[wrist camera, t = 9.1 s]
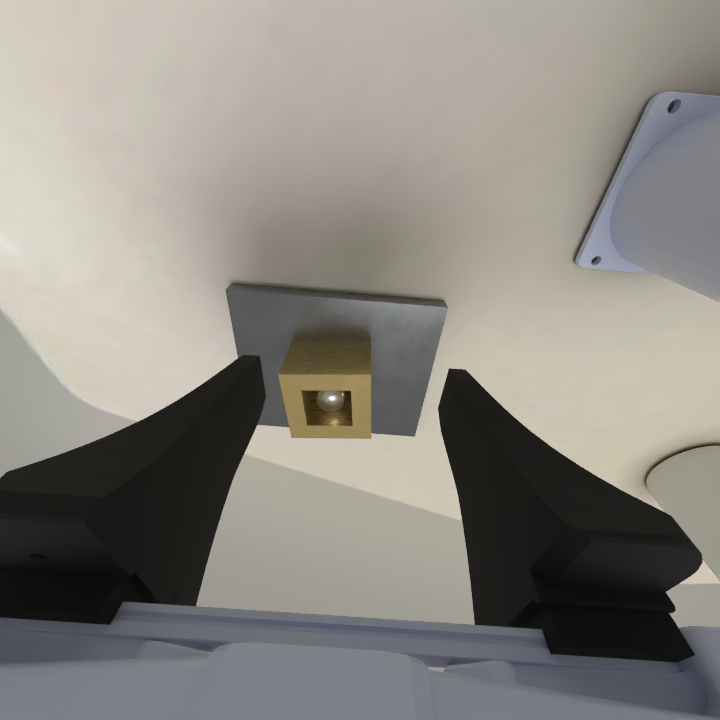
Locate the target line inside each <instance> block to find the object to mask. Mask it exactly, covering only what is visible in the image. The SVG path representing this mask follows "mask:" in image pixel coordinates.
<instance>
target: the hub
mask: <svg viewBox="0 0 720 720" xmlns="http://www.w3.org/2000/svg"><path fill="white" fill-rule="evenodd" d="M278 376H279V381H280V386H281V390H282V395H283V400H284V404H285V409H286V414H287V418H288V423H289V428H290V432H291V437H292V438H360V439H371V339H293V340H292V342H291V344H290V347H289V349H288V352H287V354H286V357H285V359H284V361H283V364H282V366H281V369H280V371H279V373H278ZM318 391H345V397H344V405H343V407H342V408H341V409H340V410H337V411H334V412H329V411H325V410H323V409H321V408H320V407H319V406H318V404H317V396H318Z"/></svg>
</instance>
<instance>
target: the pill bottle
mask: <svg viewBox="0 0 720 720" xmlns="http://www.w3.org/2000/svg"><path fill="white" fill-rule="evenodd" d="M646 485H647V488H648V490H649V491H650V493H651V494H652V496H653V497H654V499H655V500H656V501H657V502H658V504H659V505H660V506H661V508H662V509H663V510H664V511H665V513H667V514H669V515H671V516H672V517H673V518H674V520H675V521H676V522H677V523H678V525H679V526H680V527H681V528H682V530H683V531H684V532H685V533H686V535H687V536H688V537H689V538H690V540H691V541H692V542H693V543H694V544H695V546H696V547H697V548H698V549H699V551H700V552H701V553H702V559H703V560H704V561H705V563H706V564H707V565H708V566H709V568H710V569H711V570H712V571H713V573H714V574H715V575H716V576H717V578H718V579H719V580H720V446H706V447H700V448H695V449H691V450H688V451H685V452H682V453H679V454H677V455H675V456H672V457H670V458H668V459H667V460H665V461H663V462H662V463H660V464H659V465H657V466H656V467H655V468H654V469H653V470H652V471H651V472H650V473H649V475H648V477H647V480H646Z"/></svg>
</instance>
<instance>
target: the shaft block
mask: <svg viewBox="0 0 720 720" xmlns="http://www.w3.org/2000/svg"><path fill="white" fill-rule="evenodd" d="M226 294H227V299H228V305H229V310H230V316H231V321H232V327H233V332H234V338H235V343H236V349H237V354H238V358H240V357H241V356H243V355H256V356H260V360H261V366H262V373H263V379H264V386H265V392H266V399H265V403H264V406H263V410H262V413H261V416H260V419H259V422H258V424H257V425H268V426H281V427H289V423H288V418H287V414H286V409H285V404H284V400H283V395H282V390H281V386H280V381H279V376H278V373H279V371H280V369H281V366H282V364H283V361H284V359H285V357H286V354H287V352H288V349H289V347H290V344H291V342H292V340H293V339H371V433H376V434H389V435H402V436H415V433H416V429H417V425H418V422H419V418H420V414H421V410H422V406H423V402H424V398H425V394H426V390H427V386H428V382H429V379H430V375H431V371H432V367H433V363H434V359H435V355H436V351H437V347H438V343H439V339H440V336H441V332H442V328H443V324H444V320H445V316H446V312H447V308H448V307H447V305H446V303H445V301H438V300H426V299H414V298H401V297H389V296H377V295H365V294H353V293H340V292H328V291H316V290H304V289H291V288H279V287H267V286H255V285H243V284H231V285H230V286H229V287H228V288H227V289H226ZM344 397H345V391H318V396H317V404H318V406H319V407H320V408H321V409H323V410H325V411H329V412H334V411H337V410H340V409H341V408H342V407H343V405H344Z"/></svg>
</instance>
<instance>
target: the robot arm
mask: <svg viewBox="0 0 720 720" xmlns="http://www.w3.org/2000/svg"><path fill="white" fill-rule="evenodd" d="M672 101H674V106H673V109H672V110H671V111H670V112H669V113H668V110H667V109H668V106H669V105H670V103H671V102H672ZM596 256H597V259H596V261H595V262H593V263H591V261H592V259H593V258H594V257H596ZM575 262H576V264H577V266H579V267H581V268H587V269H599V270H611V271H623V272H635V273H647V274H657V275H659V276H662V277H664V278H666V279H668V280H671V281H673V282H675V283H677V284H680V285H682V286H684V287H686V288H689V289H691V290H693V291H695V292H698V293H700V294H702V295H705V296H707V297H709V298H711V299H714V300H716V301H718V302H720V96H716V95H705V94H695V93H684V92H673V91H668V92H662V93H659V94H657V95H655V96H654V97H653V98H652V99H651V100H650V101H649V103H648V105H647V107H646V109H645V111H644V113H643V115H642V117H641V119H640V122H639V124H638V126H637V128H636V130H635V132H634V134H633V137H632V139H631V141H630V143H629V145H628V147H627V149H626V152H625V154H624V156H623V158H622V160H621V162H620V164H619V167H618V169H617V171H616V173H615V175H614V177H613V180H612V182H611V184H610V186H609V188H608V190H607V192H606V195H605V197H604V199H603V201H602V203H601V205H600V207H599V210H598V212H597V214H596V216H595V218H594V220H593V222H592V225H591V227H590V229H589V231H588V233H587V235H586V237H585V240H584V242H583V244H582V246H581V248H580V250H579V252H578V255H577V257H576V260H575ZM265 399H266V392H265V386H264V379H263V373H262V366H261V360H260V356H256V355H243V356H241V357H240V358H238V359H237V360H235V361H234V362H233V363H231V364H230V365H228V366H227V367H226V368H224V369H223V370H222V371H220V372H219V373H218V374H216V375H215V376H213V377H212V378H210V379H209V380H208V381H206V382H205V383H203V384H202V385H200V386H199V387H197V388H196V389H194V390H193V391H191V392H190V393H188V394H187V395H185V396H184V397H182V398H180V399H179V400H177V401H176V402H174V403H172V404H171V405H169V406H167V407H165V408H164V409H162V410H160V411H158V412H156V413H154V414H152V415H151V416H149V417H147V418H145V419H143V420H141V421H139V422H136V423H134V424H132V425H130V426H128V427H126V428H124V429H122V430H119V431H117V432H115V433H113V434H111V435H108V436H106V437H104V438H101V439H99V440H96V441H94V442H91V443H89V444H86V445H84V446H81V447H79V448H76V449H73V450H71V451H68V452H65V453H63V454H60V455H57V456H54V457H51V458H48V459H45V460H42V461H39V462H36V463H33V464H30V465H27V466H24V467H21V468H18V469H15V470H11V471H8V472H7V473H5V474H4V476H2V477H1V478H0V720H720V627H704V626H688V627H682V628H678V627H677V625H676V623H675V622H674V620H673V619H672V617H671V616H670V614H669V613H673V612H674V611H675V606H674V604H673V603H672V601H671V600H670V598H669V597H668V595H667V594H666V591H668V590H669V589H671V588H672V587H674V586H676V585H677V584H679V583H680V582H682V581H684V580H685V579H687V578H688V577H690V576H691V575H692V574H694V573H695V572H696V571H697V570H698V569H699V567H700V565H701V564H702V553H701V552H700V551H699V549H698V548H697V547H696V546H695V544H694V543H693V542H692V541H691V540H690V538H689V537H688V536H687V535H686V533H685V532H684V531H683V530H682V528H681V527H680V526H679V525H678V523H677V522H676V521H675V520H674V518H673V517H672V516H671V515H669V514H667V513H665V512H663V511H661V510H659V509H657V508H655V507H653V506H651V505H649V504H647V503H645V502H643V501H641V500H639V499H637V498H635V497H633V496H631V495H629V494H627V493H625V492H623V491H622V490H620V489H618V488H616V487H615V486H613V485H611V484H609V483H607V482H606V481H604V480H602V479H600V478H599V477H597V476H595V475H594V474H592V473H590V472H589V471H587V470H585V469H584V468H582V467H581V466H579V465H577V464H576V463H574V462H573V461H571V460H570V459H568V458H567V457H565V456H564V455H562V454H561V453H559V452H558V451H556V450H555V449H554V448H552V447H551V446H549V445H548V444H547V443H545V442H544V441H543V440H541V439H540V438H539V437H537V436H536V435H535V434H533V433H532V432H531V431H530V430H528V429H527V428H526V427H525V426H524V425H522V424H521V423H520V422H519V421H518V420H517V419H516V418H514V417H513V416H512V415H511V414H510V413H509V412H508V411H507V410H505V409H504V408H503V407H502V406H501V405H500V404H499V403H498V402H497V401H496V400H495V399H494V398H493V397H492V396H491V395H490V394H489V393H488V392H487V391H486V390H485V389H484V388H483V387H482V386H481V385H480V384H479V383H478V382H477V381H476V380H475V379H474V378H473V377H472V376H471V375H470V374H469V373H468V372H467V371H466V370H463V369H449V371H448V374H447V378H446V382H445V385H444V389H443V392H442V396H441V400H440V403H439V407H438V411H439V419H440V426H441V432H442V436H443V440H444V444H445V448H446V451H447V455H448V459H449V462H450V466H451V469H452V473H453V477H454V480H455V484H456V488H457V493H458V497H459V503H460V509H461V515H462V521H463V528H464V535H465V542H466V549H467V556H468V563H469V572H470V581H471V590H472V599H473V610H474V619H475V625H468V624H453V623H437V622H423V621H408V620H407V621H406V620H393V619H377V618H363V617H348V616H333V615H332V616H331V615H318V614H302V613H287V612H272V611H256V610H242V609H227V608H212V607H197V606H196V603H197V599H198V595H199V591H200V587H201V584H202V580H203V575H204V572H205V567H206V564H207V561H208V557H209V554H210V550H211V547H212V543H213V540H214V536H215V533H216V530H217V526H218V523H219V520H220V517H221V513H222V510H223V507H224V504H225V501H226V498H227V495H228V492H229V489H230V486H231V483H232V480H233V477H234V475H235V473H236V470H237V468H238V466H239V464H240V461H241V459H242V457H243V455H244V453H245V451H246V448H247V446H248V444H249V442H250V440H251V437H252V435H253V433H254V431H255V428H256V426H257V424H258V422H259V419H260V416H261V413H262V410H263V406H264V403H265ZM209 652H211V653H210V654H209ZM428 667H442V668H445V669H444V672H441V671H435V670H430V669H428Z"/></svg>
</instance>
